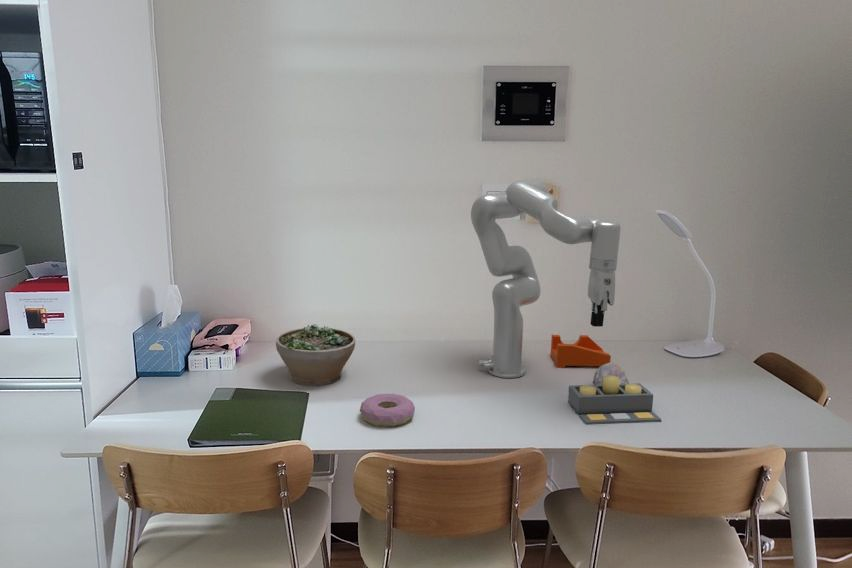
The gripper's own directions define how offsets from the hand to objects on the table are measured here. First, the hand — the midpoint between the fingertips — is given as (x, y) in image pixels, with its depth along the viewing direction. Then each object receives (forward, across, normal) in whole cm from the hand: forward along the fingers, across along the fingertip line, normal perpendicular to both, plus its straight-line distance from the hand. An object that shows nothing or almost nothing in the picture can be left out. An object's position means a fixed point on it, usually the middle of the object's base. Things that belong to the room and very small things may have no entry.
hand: (596, 325), depth 195 cm
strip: (+23, -13, -5) cm, 27 cm away
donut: (+25, -8, +60) cm, 66 cm away
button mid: (+19, -5, -4) cm, 20 cm away
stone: (+24, +12, -11) cm, 29 cm away
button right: (+22, -5, -11) cm, 25 cm away
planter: (+26, +24, +82) cm, 90 cm away
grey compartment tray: (+24, -5, -4) cm, 25 cm away
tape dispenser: (+25, +35, -8) cm, 44 cm away
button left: (+22, -5, +2) cm, 23 cm away
